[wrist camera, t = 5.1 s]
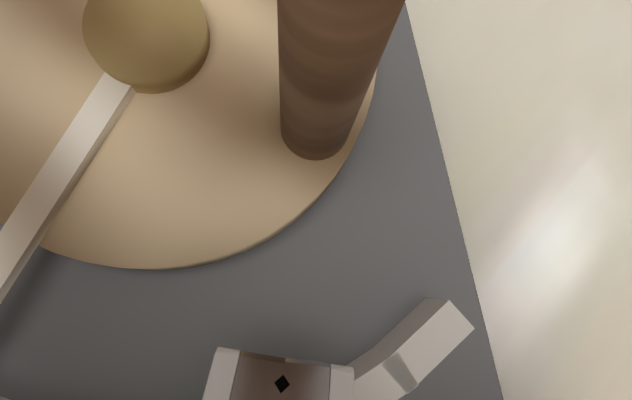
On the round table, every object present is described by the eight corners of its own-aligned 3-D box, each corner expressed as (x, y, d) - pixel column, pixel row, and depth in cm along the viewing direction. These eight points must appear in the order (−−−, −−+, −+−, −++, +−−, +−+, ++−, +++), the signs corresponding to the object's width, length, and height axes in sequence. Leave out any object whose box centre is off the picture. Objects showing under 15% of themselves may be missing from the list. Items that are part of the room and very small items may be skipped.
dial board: (-119, -93, 23) (-215, -183, 19) (354, -157, 25) (369, -253, 20) (-56, 578, 19) (-159, 666, 15) (500, 442, 21) (558, 484, 16)
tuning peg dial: (98, -184, 22) (-202, -944, 9) (436, -6, 22) (694, -502, 8) (-217, 247, 19) (-1577, 137, 5) (178, 469, 18) (-138, 1007, 5)
